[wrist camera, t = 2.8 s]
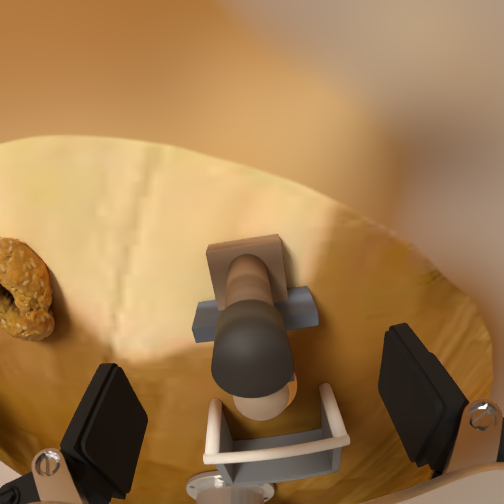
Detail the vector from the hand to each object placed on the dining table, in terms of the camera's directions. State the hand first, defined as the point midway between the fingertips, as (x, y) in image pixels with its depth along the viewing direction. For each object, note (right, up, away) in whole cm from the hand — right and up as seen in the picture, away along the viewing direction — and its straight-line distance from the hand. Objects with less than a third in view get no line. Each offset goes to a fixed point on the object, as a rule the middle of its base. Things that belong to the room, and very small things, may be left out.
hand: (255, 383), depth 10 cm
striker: (0, +2, +13) cm, 13 cm away
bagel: (-22, +1, +14) cm, 26 cm away
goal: (+2, -13, +19) cm, 23 cm away
